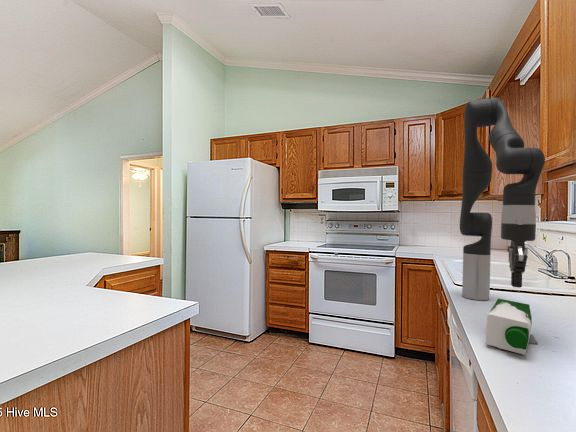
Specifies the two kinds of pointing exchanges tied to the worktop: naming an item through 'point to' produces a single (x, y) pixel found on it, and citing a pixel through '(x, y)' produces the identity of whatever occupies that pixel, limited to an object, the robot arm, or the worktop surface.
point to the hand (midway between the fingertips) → (516, 286)
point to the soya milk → (509, 326)
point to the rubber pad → (532, 340)
